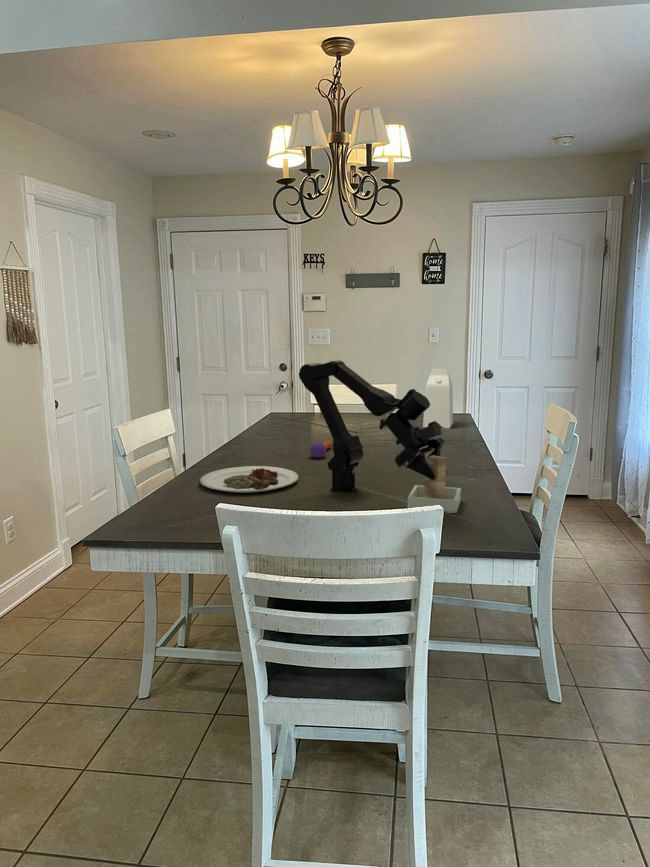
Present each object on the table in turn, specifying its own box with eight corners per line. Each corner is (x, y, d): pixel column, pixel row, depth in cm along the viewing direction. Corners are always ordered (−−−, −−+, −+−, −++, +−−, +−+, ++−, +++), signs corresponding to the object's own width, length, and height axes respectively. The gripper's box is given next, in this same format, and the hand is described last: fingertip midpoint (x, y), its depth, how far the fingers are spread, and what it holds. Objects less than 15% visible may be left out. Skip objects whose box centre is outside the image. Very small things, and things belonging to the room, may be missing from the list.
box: (407, 510, 171) (407, 497, 171) (414, 497, 183) (415, 485, 183) (456, 513, 168) (456, 500, 167) (460, 500, 180) (460, 488, 179)
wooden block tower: (416, 503, 175) (417, 458, 173) (430, 497, 180) (431, 453, 178) (439, 508, 171) (440, 461, 168) (452, 502, 176) (453, 457, 174)
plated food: (186, 495, 189) (185, 484, 188) (217, 470, 218) (216, 460, 217) (288, 498, 185) (288, 486, 184) (305, 472, 214) (305, 462, 213)
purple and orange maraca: (337, 438, 250) (325, 444, 230) (334, 453, 251) (322, 461, 231) (322, 435, 251) (309, 441, 231) (319, 450, 252) (306, 457, 232)
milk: (452, 424, 300) (454, 368, 295) (449, 429, 289) (451, 370, 284) (426, 423, 304) (427, 367, 299) (422, 427, 293) (423, 370, 288)
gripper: (405, 417, 166) (444, 465, 162) (439, 408, 181) (475, 451, 176) (379, 444, 172) (415, 490, 168) (413, 433, 187) (447, 476, 182)
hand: (440, 476), depth 173 cm, fingers open, 6 cm apart
